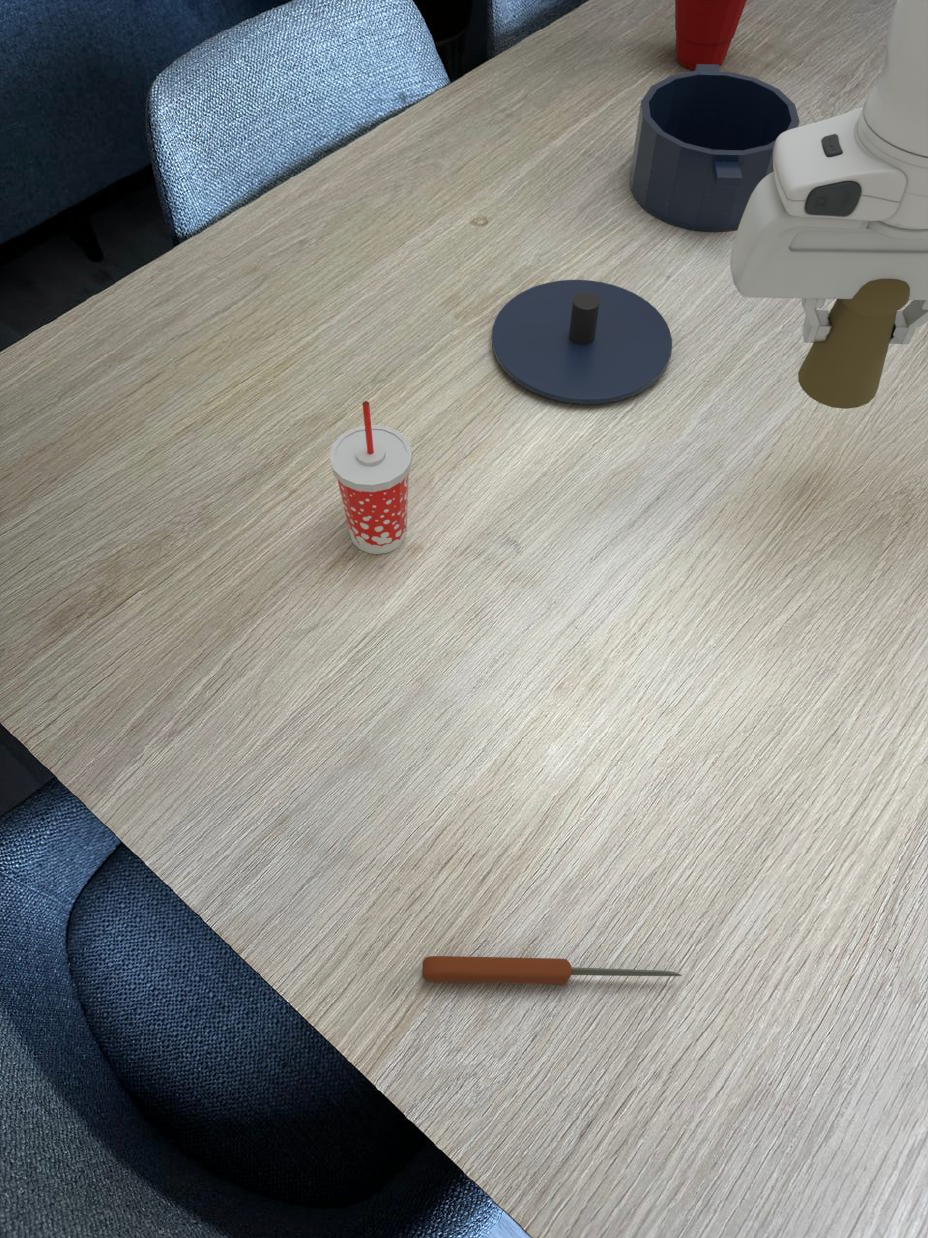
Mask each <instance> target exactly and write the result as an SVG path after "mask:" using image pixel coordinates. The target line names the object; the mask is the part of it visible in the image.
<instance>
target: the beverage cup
mask: <svg viewBox="0 0 928 1238" xmlns="http://www.w3.org/2000/svg"><path fill="white" fill-rule="evenodd" d="M361 404H362V414H363V415H362V416H363V422H364V423H363V424H364V425H360V426H355V427H352V428H351V429H348V430H347V431H345V432H344V433H341V434H339V436H338V437H337V438H336V440H335V441H334V442H333V443H331V446H330V451H329V456H328V459H329V462H330V467H331V470H332V473H333V476H334V477H335V478H336V480H337V485H338V488H339V493H340V498H341V502H342V506H343V510H344V514H345V518H346V519H345V520H346V524H347V528H348V531H349V535H350V538H351V542H352V543H353V545H354V546H356V547H357V549H358V550H360V551H361V552H362V551H363V552H364V553H367V554H374V555H382V554H388V553H391V552H393V551H394V550H396V549H398V548H399V547H401V545H402V544H403V542H404V541H405V540H406V538H407V531H408V508H409V507H408V506H409V505H408V503H409V473H410V471H411V469H412V463H413V450H412V447H411V444H410V441H409V440H408V439H407V438H406V436H404V435H403V434H402V433H401V431H399V430H396V429H395V428H391V427H389V426H386V425H380V424H372V419H371V418H372V417H371V408H370V401H368V400H364V401H363V402H362V403H361Z"/></svg>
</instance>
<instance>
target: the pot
mask: <svg viewBox="0 0 928 1238" xmlns="http://www.w3.org/2000/svg"><path fill="white" fill-rule="evenodd" d="M797 110H798V109H797V106H796V104H795V103H794V102H793V101H792V100H791V98H789V97H788V96H787V95H786V94H785V93H783V91H781V89H779V88H777V87H775V86H773V85H771V84H769V83H767V82H765V81H763V80H760V79H759V78H757V77H753V76H748V75H745V74H740V73H736V72H732V71H726V70H721V69H720V66H719V65H715V64H696V70H692V71H687V72H683V73H678V74H673V75H672V74H671V75H669V76H667V77H665V78H664V79H662V80H660V81H658V82H656V83H654V84H652V85H651V86H650V87H649V88H648V90H647V91H646V93H645V94H644V95H643V98H642V99H641V101H640V106H639V112H638V120H637V125H636V133H635V139H634V147H633V151H632V152H633V153H632V159H631V167H630V172H629V173H630V174H629V175H630V190H631V193H632V195H633V198H634V200H635V201H636V202H637V203H638V204H639V205H640V207H641V208H642V209H644V210H645V211H646V212H647V213H648V214H650V215H651V216H653V217H655V218H656V219H658V220H660V221H662V222H664V223H667V224H668V225H672V226H675V227H677V228H681V229H686V230H691V231H697V232H709V233H713V232H714V233H716V232H718V233H719V232H721V233H722V232H729V231H730V232H731V231H735V230H736V231H737V230H738V227H739V224H740V221H741V219H742V216H743V213H744V211H745V208H746V206H747V203H748V201H749V199H750V196H751V194H752V193H753V191H754V189H755V188H756V186H757V185H758V184H759V182H760V181H761V180H762V179H763V178H764V177H766V176H767V175H768V174H770V173H772V172H774V171H773V149H774V144H775V141H776V139H777V137H778V136H779V135H780V134H781V133H783V132H785V131H787V130H790V129H793V128H797V127H800V126H799V125H800V122H801V121H800V117H799V113H798V111H797Z"/></svg>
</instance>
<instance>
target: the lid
mask: <svg viewBox="0 0 928 1238" xmlns="http://www.w3.org/2000/svg"><path fill="white" fill-rule="evenodd" d="M491 330H492V332H491V346H492V350H493V355H494V356H495V358H496V360H497V362H498V364H499V365H500V367H501V369H502V370H503V371H504V372H505V373H506V374H507V375H508V376H509V377H510V378H511V379H512V380H514V381H515V383H517V384H518V385H520V386H522V387H524V388H525V389H526V390H528V391H530V392H532V393H534V394H536V395H539V396H542V397H545V398H547V399H551V400H555V401H559V402H562V403H563V402H564V403H570V404H579V405H580V404H581V405H594V404H595V405H596V404H606V403H612V402H616V401H621V400H624V399H627V398H629V397H632V396H635V395H637V394H639V393H641V392H643V391H644V390H646V389H647V388H649V387H651V386H652V385H654V383H655V382H656V381H657V380H658V379H659V378H660V377H661V376H662V375H663V374H664V372H665V370H666V369H667V367H668V365H669V363H670V360H671V356H672V350H673V338H672V334H671V330H670V328H669V326H668V323H667V321H666V319H665V318H664V317H663V315H662V314H661V313H660V312H659V311H658V309H657V308H656V307H655V306H654V305H652V303H650V302H648V300H646V299H644V298H643V297H642V296H640V295H638V294H636V293H634V292H633V291H630V290H628V289H626V288H623V287H620V286H619V285H615V284H612V283H607V282H603V281H598V280H597V281H596V280H591V279H564V280H555V281H550V282H545V283H542V284H538V285H535V286H533V287H530V288H527V289H526V290H524V291H522V292H520V293H518V294H516V296H514V297H512V298H511V299H510V300H509V301H508V302H507V303H505V304H504V306H502V308H501V309H500V310H499V311H498V314H497V315H496V317H495V319H494V322H493V325H492V329H491Z"/></svg>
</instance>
